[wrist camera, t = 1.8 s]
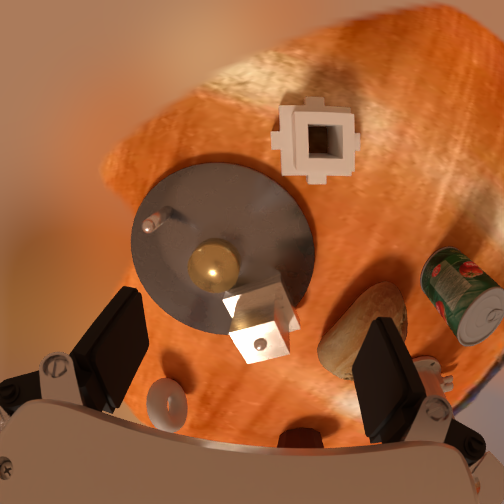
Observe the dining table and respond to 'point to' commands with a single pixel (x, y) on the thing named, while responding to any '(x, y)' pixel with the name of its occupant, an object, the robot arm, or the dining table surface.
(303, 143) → the hollow square tube block
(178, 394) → the donut
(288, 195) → the carrier
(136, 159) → the dining table surface
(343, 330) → the bread roll
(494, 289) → the canned tomato
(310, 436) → the muffin
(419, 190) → the dining table surface
